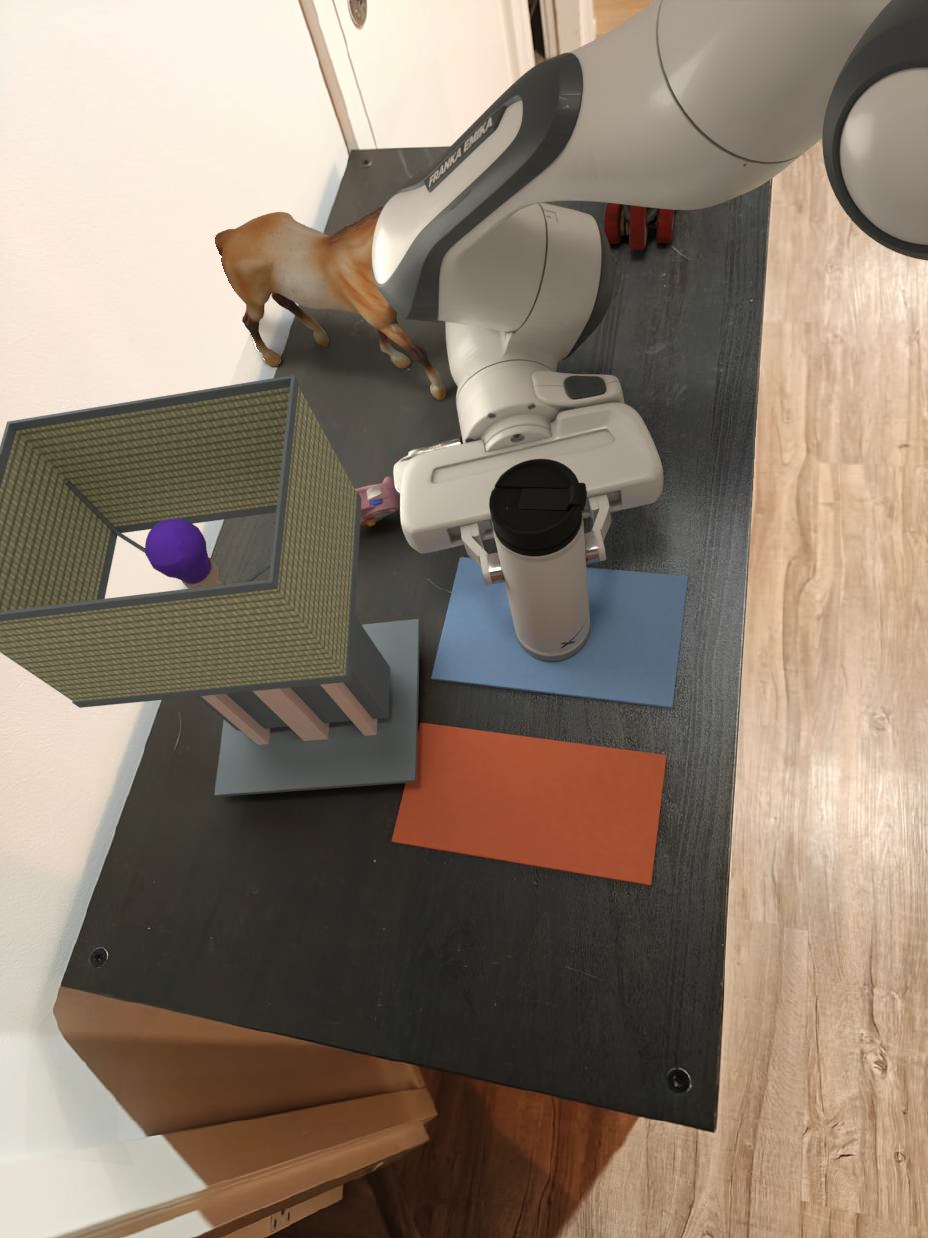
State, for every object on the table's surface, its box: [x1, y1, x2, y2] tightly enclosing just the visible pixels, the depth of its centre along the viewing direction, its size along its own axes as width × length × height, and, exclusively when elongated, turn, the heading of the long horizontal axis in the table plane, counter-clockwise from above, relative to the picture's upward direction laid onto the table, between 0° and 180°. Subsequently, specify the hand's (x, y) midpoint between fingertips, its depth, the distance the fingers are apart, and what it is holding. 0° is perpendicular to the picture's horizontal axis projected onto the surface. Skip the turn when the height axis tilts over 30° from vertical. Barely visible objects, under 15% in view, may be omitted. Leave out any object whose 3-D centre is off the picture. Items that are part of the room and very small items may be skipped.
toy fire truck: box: [603, 203, 676, 251], centre depth 96 cm, size 7×12×10 cm, turn 168°
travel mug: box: [489, 459, 590, 661], centre depth 71 cm, size 6×7×20 cm
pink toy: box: [355, 475, 400, 527], centre depth 87 cm, size 10×5×7 cm, turn 103°
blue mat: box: [430, 556, 689, 709], centre depth 80 cm, size 20×12×1 cm, turn 78°
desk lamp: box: [0, 374, 421, 798], centre depth 66 cm, size 18×14×33 cm
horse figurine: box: [214, 205, 447, 401], centre depth 90 cm, size 31×8×21 cm, turn 65°
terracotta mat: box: [391, 722, 668, 887], centre depth 73 cm, size 20×10×1 cm, turn 78°
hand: (545, 569), depth 70 cm, fingers closed on travel mug, 6 cm apart
